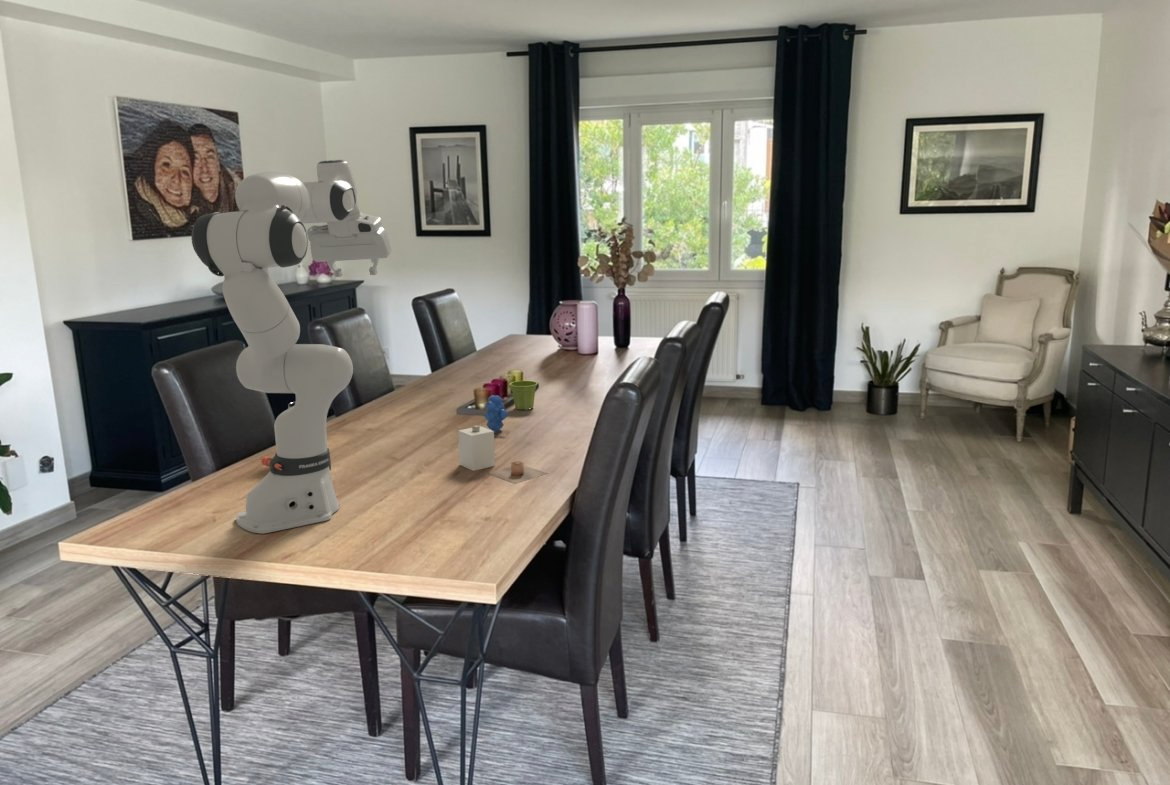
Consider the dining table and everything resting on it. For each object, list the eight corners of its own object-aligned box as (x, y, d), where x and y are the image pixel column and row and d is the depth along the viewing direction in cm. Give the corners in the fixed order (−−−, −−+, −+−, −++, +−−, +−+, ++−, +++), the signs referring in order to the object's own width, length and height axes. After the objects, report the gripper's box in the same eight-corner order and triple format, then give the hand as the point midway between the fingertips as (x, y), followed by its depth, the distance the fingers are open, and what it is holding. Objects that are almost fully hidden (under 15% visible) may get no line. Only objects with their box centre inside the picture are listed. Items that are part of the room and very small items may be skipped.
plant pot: (506, 406, 293) (505, 382, 291) (532, 403, 297) (531, 379, 295) (516, 413, 285) (515, 387, 283) (542, 409, 289) (541, 384, 287)
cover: (473, 472, 223) (471, 431, 220) (459, 466, 228) (458, 426, 225) (495, 467, 227) (493, 426, 224) (481, 461, 232) (479, 421, 229)
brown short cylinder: (516, 476, 218) (516, 465, 217) (508, 473, 220) (508, 462, 219) (526, 473, 220) (526, 462, 219) (518, 470, 222) (518, 460, 221)
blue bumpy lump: (501, 438, 255) (500, 399, 253) (480, 437, 257) (479, 398, 254) (515, 428, 266) (514, 390, 263) (495, 427, 268) (494, 389, 265)
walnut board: (514, 488, 213) (514, 483, 212) (487, 478, 220) (487, 473, 220) (548, 477, 220) (548, 473, 220) (520, 468, 228) (520, 464, 227)
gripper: (301, 229, 216) (313, 281, 222) (380, 225, 214) (390, 277, 220) (309, 222, 221) (321, 273, 228) (387, 217, 220) (396, 269, 226)
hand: (356, 275), depth 224 cm, fingers open, 8 cm apart
